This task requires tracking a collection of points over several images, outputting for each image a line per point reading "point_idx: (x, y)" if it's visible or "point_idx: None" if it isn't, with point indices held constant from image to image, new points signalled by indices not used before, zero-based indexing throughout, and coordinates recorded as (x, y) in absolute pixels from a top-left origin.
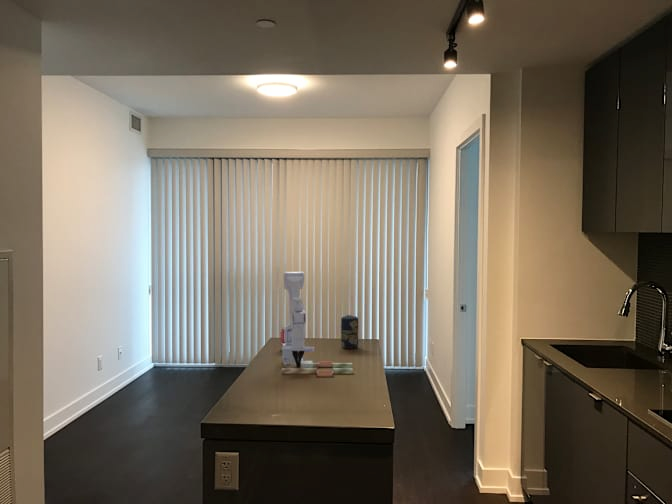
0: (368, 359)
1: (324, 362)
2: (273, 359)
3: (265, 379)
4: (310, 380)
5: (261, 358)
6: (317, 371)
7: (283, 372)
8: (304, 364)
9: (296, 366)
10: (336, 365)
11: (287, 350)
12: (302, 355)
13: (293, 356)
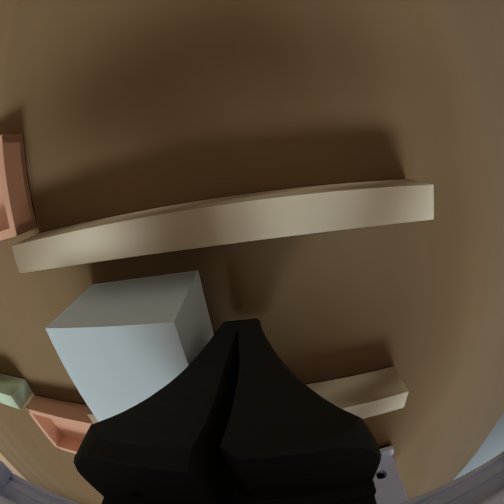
0: (10, 454)
1: None
2: (425, 467)
3: (467, 11)
4: (64, 14)
5: (468, 454)
6: (6, 196)
7: (394, 182)
8: (130, 317)
9: None
10: (4, 386)
11: (473, 491)
12: (103, 422)
13: (330, 405)
